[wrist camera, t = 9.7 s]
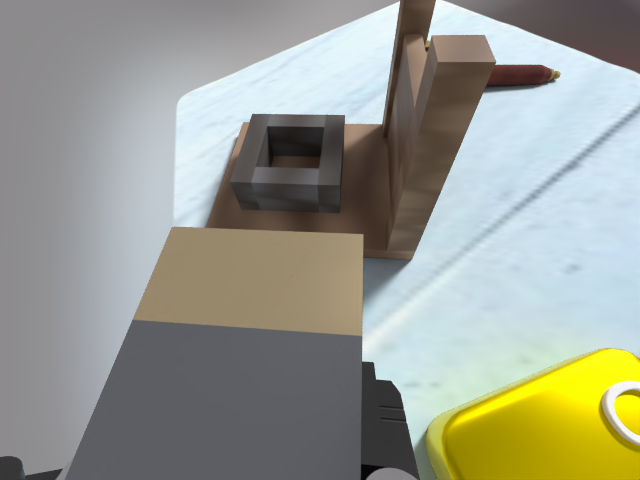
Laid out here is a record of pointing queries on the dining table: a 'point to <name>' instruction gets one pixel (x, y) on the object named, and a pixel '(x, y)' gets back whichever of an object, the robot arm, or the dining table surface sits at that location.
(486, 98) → the dining table surface
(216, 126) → the dining table surface
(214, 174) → the dining table surface
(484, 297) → the dining table surface
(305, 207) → the wooden peg insertion stand
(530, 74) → the gavel
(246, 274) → the tan-topped grey pillar
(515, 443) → the element tile
